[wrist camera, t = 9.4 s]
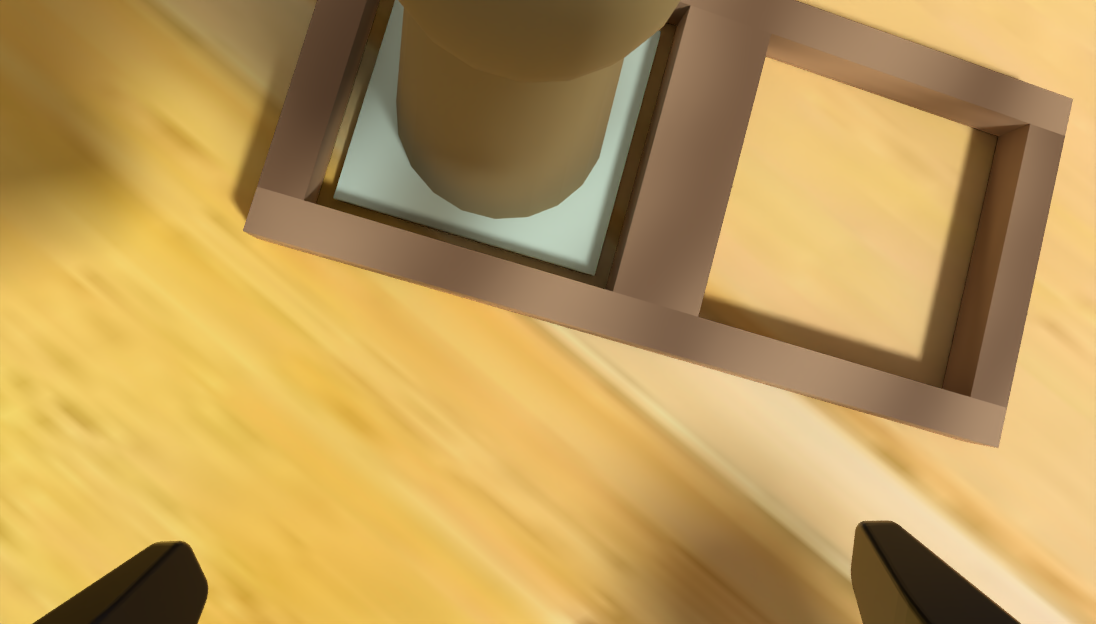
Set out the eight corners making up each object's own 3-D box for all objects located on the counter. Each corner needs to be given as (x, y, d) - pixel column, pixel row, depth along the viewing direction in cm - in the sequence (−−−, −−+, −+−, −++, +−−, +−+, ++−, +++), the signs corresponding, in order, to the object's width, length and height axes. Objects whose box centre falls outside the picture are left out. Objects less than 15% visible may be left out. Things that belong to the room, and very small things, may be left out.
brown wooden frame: (257, 238, 18) (242, 230, 17) (372, -121, 19) (366, -153, 18) (967, 442, 20) (998, 447, 19) (1039, 113, 21) (1072, 99, 20)
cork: (648, 110, 19) (879, -192, 9) (514, 263, 19) (584, 144, 8) (492, -31, 19) (528, -532, 8) (350, 120, 18) (184, -211, 8)
